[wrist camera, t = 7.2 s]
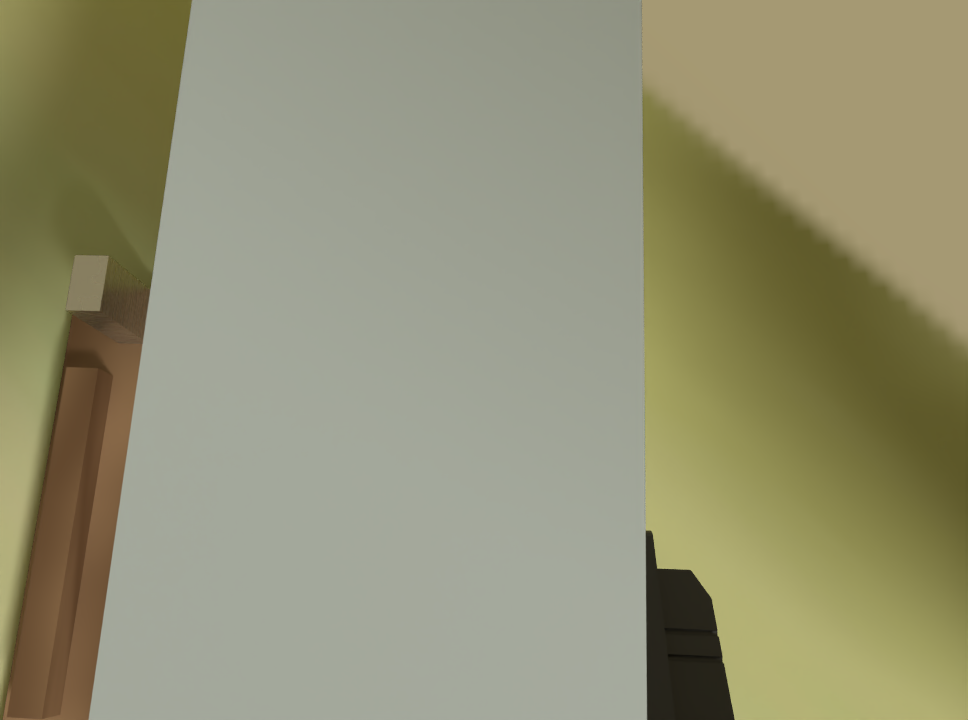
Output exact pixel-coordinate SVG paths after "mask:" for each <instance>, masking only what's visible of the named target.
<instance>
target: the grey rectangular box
mask: <svg viewBox="0 0 968 720" xmlns="http://www.w3.org/2000/svg"><path fill="white" fill-rule="evenodd" d="M89 720H647V659H646V522H645V386H644V249H643V112H642V0H192V5H191V12H190V19H189V26H188V32H187V39H186V46H185V53H184V60H183V67H182V74H181V81H180V88H179V95H178V102H177V109H176V116H175V123H174V130H173V137H172V144H171V151H170V158H169V164H168V171H167V178H166V185H165V192H164V199H163V206H162V213H161V220H160V227H159V234H158V241H157V248H156V255H155V262H154V269H153V276H152V283H151V289H150V296H149V303H148V310H147V317H146V324H145V331H144V338H143V345H142V352H141V359H140V366H139V373H138V380H137V387H136V394H135V401H134V408H133V415H132V421H131V428H130V435H129V442H128V449H127V456H126V463H125V470H124V477H123V484H122V491H121V498H120V505H119V512H118V519H117V526H116V533H115V540H114V546H113V553H112V560H111V567H110V574H109V581H108V588H107V595H106V602H105V609H104V616H103V623H102V630H101V637H100V644H99V651H98V658H97V665H96V671H95V678H94V685H93V692H92V699H91V706H90V713H89Z"/></svg>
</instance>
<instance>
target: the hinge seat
mask: <svg viewBox="0 0 968 720" xmlns="http://www.w3.org/2000/svg"><path fill="white" fill-rule="evenodd" d="M149 296H150V289H149V288H148V287H147V286H145V285H144V284H143V283H142V282H140V281H139V280H138V279H137V278H136V277H134V276H133V275H132V274H131V273H129V272H128V271H127V270H126V269H124V268H123V267H122V266H121V265H120V264H118V263H117V262H116V261H115V260H113V259H112V258H111V257H110V256H97V255H75V258H74V264H73V270H72V275H71V281H70V287H69V293H68V298H67V304H66V311H68V312H69V313H71V314H72V320H71V326H70V331H69V337H68V343H67V349H66V355H65V361H64V366H63V372H62V378H61V384H60V390H59V395H58V401H57V407H56V413H55V419H54V424H53V430H52V436H51V442H50V448H49V453H48V459H47V465H46V471H45V477H44V483H43V488H42V494H41V500H40V506H39V512H38V517H37V523H36V529H35V535H34V541H33V546H32V552H31V558H30V564H29V570H28V575H27V581H26V587H25V593H24V599H23V605H22V610H21V616H20V622H19V628H18V634H17V639H16V645H15V651H14V657H13V663H12V668H11V674H10V680H9V686H8V692H7V698H6V703H5V709H4V715H3V720H89V713H90V706H91V699H92V692H93V685H94V678H95V671H96V665H97V658H98V651H99V644H100V637H101V630H102V623H103V616H104V609H105V602H106V595H107V588H108V581H109V574H110V567H111V560H112V553H113V546H114V540H115V533H116V526H117V519H118V512H119V505H120V498H121V491H122V484H123V477H124V470H125V463H126V456H127V449H128V442H129V435H130V428H131V421H132V415H133V408H134V401H135V394H136V387H137V380H138V373H139V366H140V359H141V352H142V345H143V338H144V331H145V324H146V317H147V310H148V303H149Z"/></svg>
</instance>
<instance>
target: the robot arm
mask: <svg viewBox="0 0 968 720" xmlns="http://www.w3.org/2000/svg"><path fill="white" fill-rule="evenodd" d="M646 659H647V720H734V714H733V709H732V704H731V699H730V693H729V688H728V683H727V678H726V672H725V667H724V663H723V662H722V652H721V646H720V641H719V637H718V636H717V625H716V620H715V615H714V610H713V604H712V599H711V597H710V596H709V594H708V593H707V592H706V590H705V589H704V588H703V586H702V585H701V584H700V582H699V581H698V579H697V578H696V577H695V575H694V574H693V573H692V571H691V570H678V569H657V565H656V557H655V549H654V540H653V534H652V531H646Z"/></svg>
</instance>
